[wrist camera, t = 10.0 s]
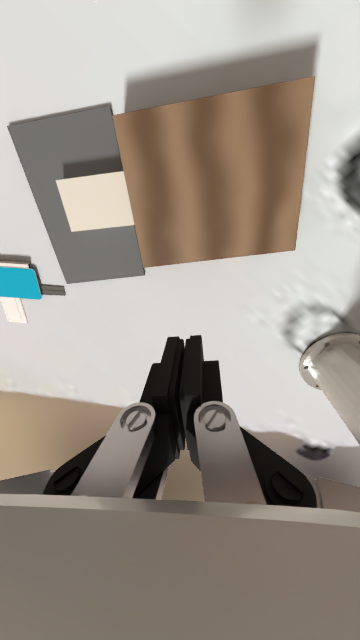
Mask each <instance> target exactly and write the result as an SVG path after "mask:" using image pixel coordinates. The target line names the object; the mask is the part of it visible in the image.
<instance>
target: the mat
mask: <svg viewBox="0 0 360 640" xmlns="http://www.w3.org/2000/svg"><path fill="white" fill-rule="evenodd" d="M7 127H8V130H9V133H10V135H11V138H12V140H13V143H14V146H15V148H16V151H17V154H18V156H19V159H20V162H21V164H22V167H23V169H24V172H25V175H26V177H27V180H28V183H29V185H30V188H31V190H32V193H33V196H34V198H35V201H36V204H37V206H38V209H39V212H40V214H41V217H42V219H43V222H44V225H45V227H46V230H47V233H48V235H49V238H50V240H51V243H52V246H53V248H54V251H55V254H56V256H57V259H58V262H59V264H60V267H61V269H62V272H63V275H64V277H65V280H66V283H67V284H70V283H79V282H88V281H97V280H106V279H115V278H124V277H133V276H142V275H145V273H144V268H143V264H142V259H141V254H140V249H139V244H138V239H137V234H136V230H135V225H130V226H121V227H111V228H102V229H93V230H84V231H75V232H71V228H70V225H69V222H68V219H67V216H66V212H65V209H64V206H63V203H62V199H61V196H60V193H59V190H58V187H57V183H56V180H62V179H69V178H76V177H84V176H91V175H99V174H106V173H113V172H121V171H123V166H122V161H121V156H120V151H119V146H118V142H117V137H116V132H115V127H114V122H113V117H112V111H111V107H110V106H106V107H101V108H96V109H91V110H86V111H81V112H76V113H71V114H66V115H61V116H56V117H51V118H46V119H41V120H36V121H31V122H26V123H21V124H15V125H10V126H7Z"/></svg>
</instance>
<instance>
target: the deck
mask: <svg viewBox="0 0 360 640" xmlns="http://www.w3.org/2000/svg"><path fill="white" fill-rule="evenodd" d="M314 81H315V76H313V77H308V78H302V79H297V80H292V81H287V82H282V83H277V84H272V85H266V86H261V87H256V88H251V89H246V90H241V91H236V92H230V93H225V94H220V95H215V96H210V97H205V98H199V99H194V100H189V101H184V102H179V103H174V104H169V105H163V106H158V107H153V108H148V109H143V110H138V111H132V112H127V113H122V114H117V115H112V117H113V122H114V127H115V132H116V137H117V142H118V146H119V151H120V156H121V161H122V166H123V171H124V176H125V181H126V186H127V190H128V195H129V200H130V205H131V210H132V215H133V220H134V225H135V230H136V234H137V239H138V244H139V249H140V254H141V259H142V264H143V268H145V267H154V266H162V265H171V264H180V263H189V262H197V261H206V260H215V259H223V258H232V257H241V256H249V255H258V254H267V253H276V252H284V251H293V250H295V247H296V239H297V230H298V221H299V212H300V204H301V195H302V186H303V177H304V169H305V160H306V151H307V142H308V134H309V125H310V116H311V107H312V99H313V90H314Z"/></svg>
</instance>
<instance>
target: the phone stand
mask: <svg viewBox="0 0 360 640" xmlns="http://www.w3.org/2000/svg"><path fill="white" fill-rule="evenodd" d="M28 264H30V262H22V261H21V262H17V261H16V262H14V261H11V260H10V261H6V260H5V261H0V300H1V303H2V306H3V308H4V311H5V314H6V317H7V319H8V322H21V323H28V320H27V317H26V314H25V311H24V308H23V304H22V301H21V298H25V299H39V300H40V299H41V298H42V295H41V294H45V295H64V296H65V292H63V291H64V287H58V286H51V285H41V282H40V278H37V276H36V273H35V271H34V268H32V269H30V268H29V266H28ZM52 290H57V291H52Z"/></svg>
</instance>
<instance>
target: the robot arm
mask: <svg viewBox="0 0 360 640" xmlns="http://www.w3.org/2000/svg"><path fill="white" fill-rule="evenodd" d="M299 371H300V374H301V376H302V378H303V379H304V381H305V382H306V383H307V384H308V385H310V386H311V387H313V388H316V389H320V390H322V391H323V393H324V394H325V396H326V397H327V398H328V400H329V401H330V403H331V404H332V406H333V407H334V408H335V410H336V411H337V413H338V414H339V416H340V417H341V419H342V420H343V421H344V423H345V424H346V426H347V427H348V429H349V430H350V431H351V433H352V434H353V436H354V437H355V439H356V440H357V441H358V443H359V444H360V335H358V334H354V333H339V334H334V335H330V336H328V337H325V338H323V339H321V340H319V341H317V342H316V343H314V344H313V345H312V346H310V347H309V348H308V349H307V350H306V352H305V353H304V355H303V356H302V358H301V360H300V365H299ZM185 438H186V441H187V448H188V450H189V451H190V457H191V461H192V462H193V464H194V465H195V466H196V467H197V468H198V469H199V470H200V471H201V477H202V484H203V491H204V500H205V502H199V501H178V500H161V497H162V493H163V489H164V485H165V482H166V478H167V474H168V466H169V465H170V464H171V463H172V462H173V461H175V459H179V454H180V450H184V449H185ZM0 640H360V487H357V486H353V485H349V484H345V483H341V482H337V481H333V480H329V479H325V478H321V477H318V478H317V480H315V479H311V478H307V477H306V476H305V475H304V474H302V473H301V472H300V471H299V470H298V469H297V468H295V467H294V466H292V465H291V464H290V463H289V462H287V461H286V460H285V459H283V458H282V457H280V456H279V455H277V454H276V453H275V452H274V451H272V450H271V449H270V448H268V447H267V446H266V445H264V444H263V443H262V442H260V441H259V440H257V439H256V438H255V437H254V436H252V435H251V434H249V433H248V432H247V431H245V430H244V429H243V428H241V427H240V426H239V423H238V421H237V418H236V415H235V413H234V411H233V409H232V408H231V407H230V406H228V405H227V404H225V403H223V399H222V389H221V380H220V370H219V361H204V358H203V347H202V337H201V335H196V336H190V339H186V344H185V347H184V340H183V339H180V338H179V337H168V338H167V342H166V346H165V349H164V353H163V356H162V360H161V363H153V364H152V366H151V369H150V372H149V375H148V378H147V381H146V384H145V387H144V390H143V393H142V396H141V399H140V402H139V403H134V404H131V405H129V406H127V407H126V408H124V409H123V410H122V411H121V412H120V414H119V415H118V416H117V418H116V420H115V422H114V423H113V425H112V427H111V429H110V430H109V432H108V433H107V435H106V436H104V437H103V438H101V439H100V440H98V441H97V442H95V443H94V444H93V445H91V446H90V447H88V448H87V449H85V450H84V451H82V452H81V453H79V454H78V455H76V456H75V457H73V458H72V459H71V460H69V461H68V462H66V463H65V464H63V465H62V466H61V467H60V468H58V469H57V470H56V471H55V472H52V470H46V471H41V472H37V473H32V474H28V475H23V476H19V477H14V478H10V479H5V480H1V481H0Z"/></svg>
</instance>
